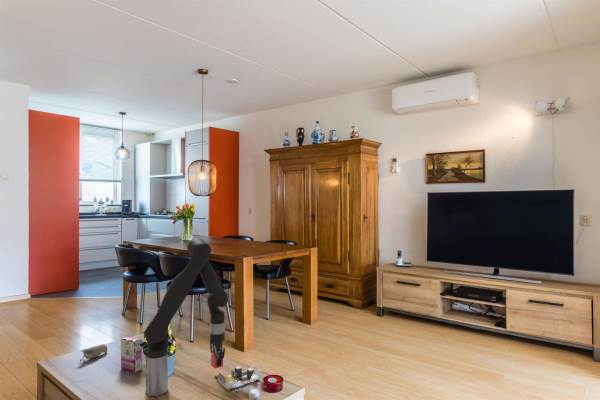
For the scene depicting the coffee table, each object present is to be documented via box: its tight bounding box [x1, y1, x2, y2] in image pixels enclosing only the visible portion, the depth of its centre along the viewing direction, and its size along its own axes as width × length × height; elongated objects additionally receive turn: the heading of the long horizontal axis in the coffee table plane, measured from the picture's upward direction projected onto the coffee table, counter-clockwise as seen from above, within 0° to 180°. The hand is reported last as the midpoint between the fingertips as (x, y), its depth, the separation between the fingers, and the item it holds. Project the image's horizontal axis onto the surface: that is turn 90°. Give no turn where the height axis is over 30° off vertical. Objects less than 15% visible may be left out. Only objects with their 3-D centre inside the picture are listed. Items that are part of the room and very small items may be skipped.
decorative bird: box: [79, 343, 108, 363], centre depth 214 cm, size 5×16×8 cm, turn 156°
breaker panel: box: [217, 369, 250, 392], centre depth 186 cm, size 17×12×4 cm
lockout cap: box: [210, 352, 224, 369], centre depth 193 cm, size 4×4×6 cm
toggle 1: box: [234, 365, 243, 377], centre depth 189 cm, size 2×3×4 cm
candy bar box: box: [120, 335, 143, 373], centre depth 199 cm, size 11×5×16 cm, turn 62°
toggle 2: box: [246, 367, 255, 379], centre depth 186 cm, size 2×3×4 cm
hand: (217, 364), depth 193 cm, fingers closed on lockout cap, 4 cm apart
